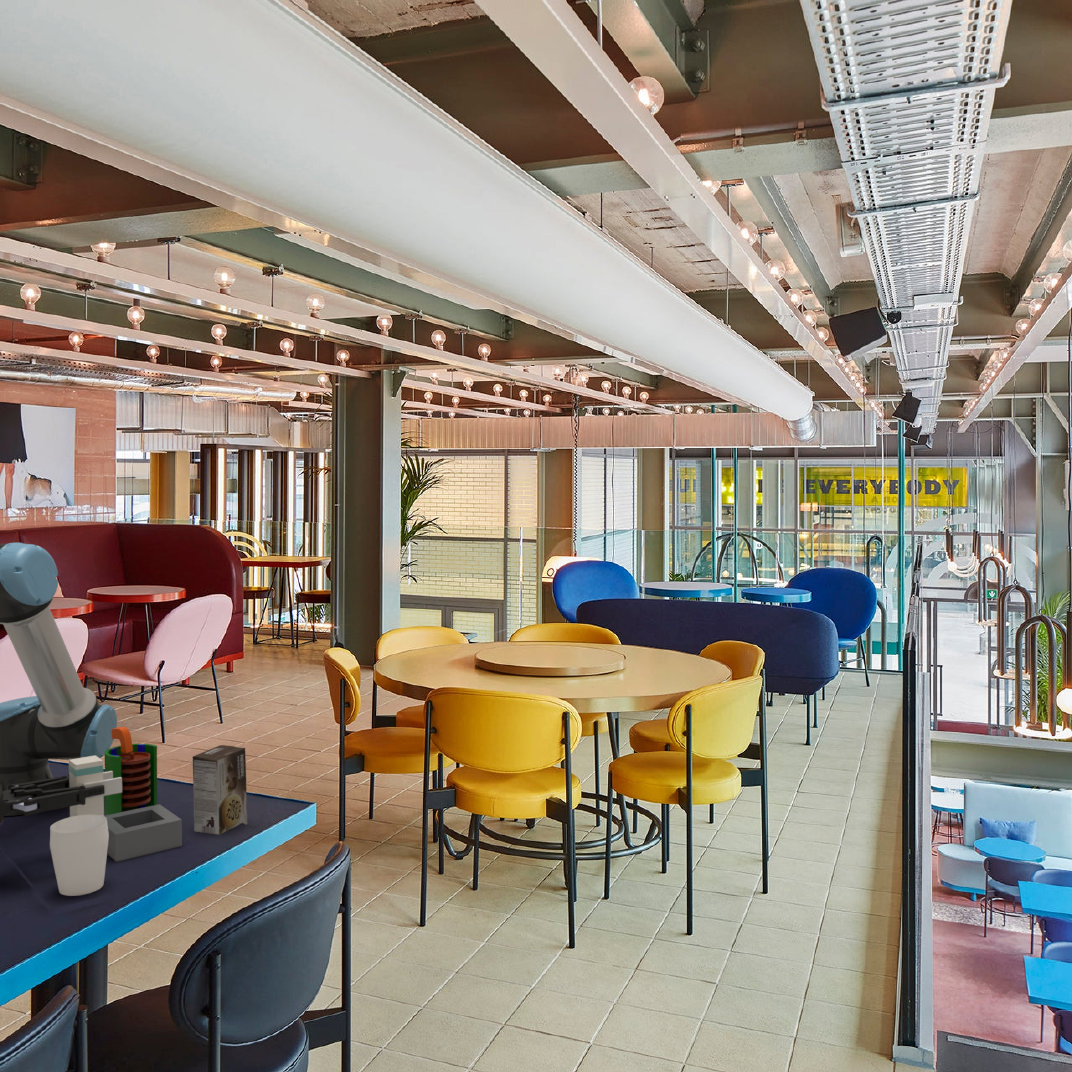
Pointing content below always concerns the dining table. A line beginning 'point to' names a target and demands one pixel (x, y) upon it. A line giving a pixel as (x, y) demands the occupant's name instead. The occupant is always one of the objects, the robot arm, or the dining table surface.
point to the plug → (86, 773)
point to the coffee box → (219, 789)
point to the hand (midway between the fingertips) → (116, 781)
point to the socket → (142, 832)
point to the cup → (79, 853)
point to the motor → (131, 773)
